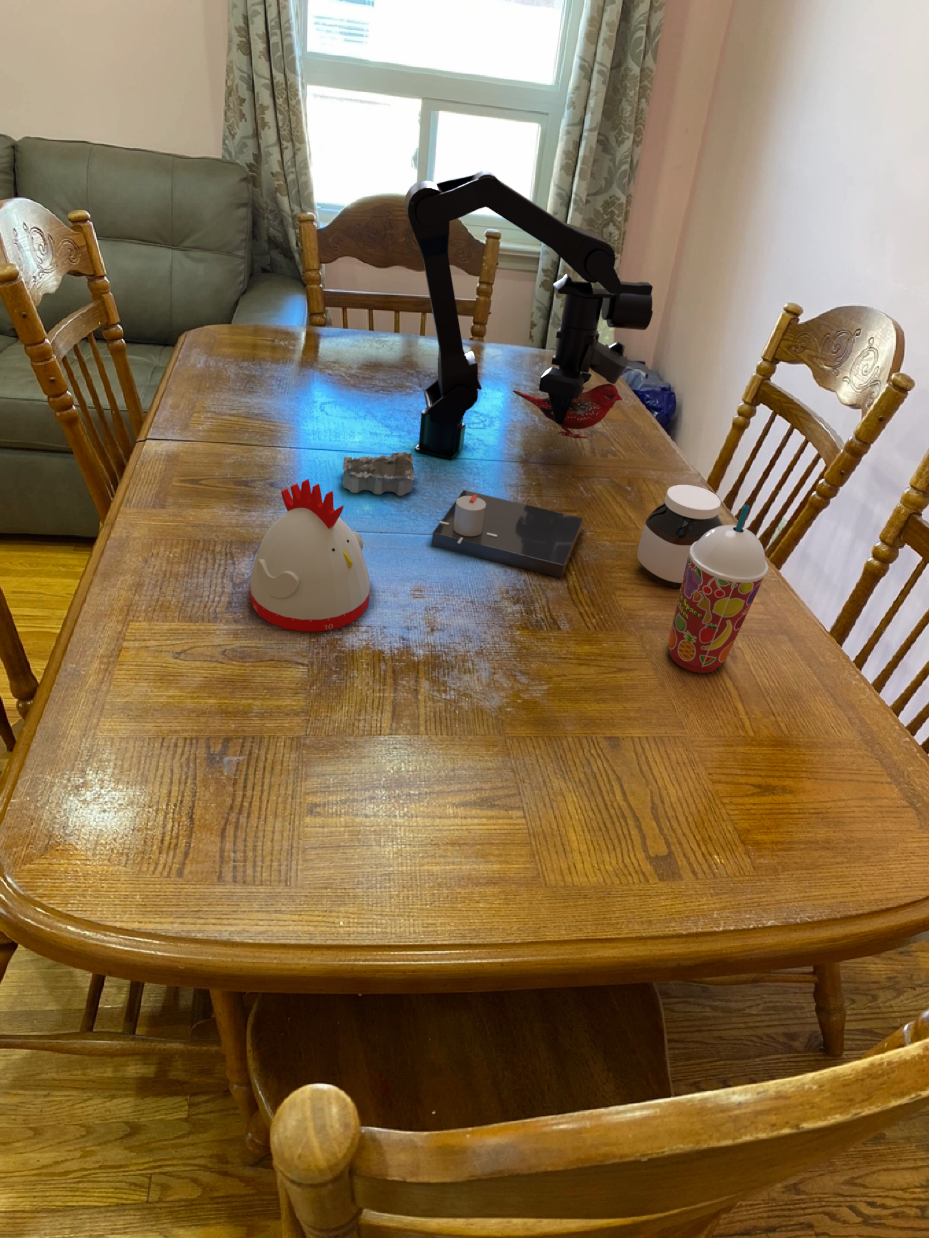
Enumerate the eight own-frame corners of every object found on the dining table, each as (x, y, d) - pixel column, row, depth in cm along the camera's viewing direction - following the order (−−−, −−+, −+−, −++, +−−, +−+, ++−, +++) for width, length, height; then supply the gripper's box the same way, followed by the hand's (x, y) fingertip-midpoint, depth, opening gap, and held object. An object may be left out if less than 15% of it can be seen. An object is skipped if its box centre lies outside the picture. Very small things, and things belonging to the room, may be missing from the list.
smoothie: (650, 635, 99) (695, 485, 87) (716, 637, 100) (769, 490, 88) (670, 680, 92) (721, 524, 80) (740, 682, 93) (801, 528, 81)
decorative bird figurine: (611, 448, 135) (625, 389, 129) (506, 429, 136) (515, 370, 130) (612, 441, 137) (626, 383, 131) (508, 423, 139) (517, 364, 133)
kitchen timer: (317, 647, 90) (317, 527, 81) (225, 600, 95) (216, 483, 86) (392, 593, 100) (399, 482, 91) (305, 553, 105) (304, 444, 97)
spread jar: (659, 595, 106) (683, 516, 99) (608, 552, 114) (627, 475, 107) (728, 580, 111) (755, 503, 105) (675, 539, 119) (697, 465, 112)
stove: (427, 548, 109) (429, 534, 108) (461, 501, 121) (463, 488, 120) (559, 582, 106) (562, 568, 105) (580, 530, 118) (583, 517, 117)
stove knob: (477, 539, 109) (481, 510, 106) (449, 532, 110) (452, 503, 107) (485, 526, 112) (489, 498, 110) (458, 519, 113) (461, 491, 110)
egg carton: (413, 476, 127) (415, 452, 124) (412, 499, 120) (414, 474, 118) (344, 470, 126) (344, 445, 123) (339, 492, 120) (340, 467, 117)
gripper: (622, 351, 117) (599, 452, 126) (638, 320, 132) (617, 412, 141) (546, 336, 119) (530, 436, 128) (571, 307, 134) (554, 398, 143)
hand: (561, 420), depth 135 cm, fingers closed on decorative bird figurine, 3 cm apart
